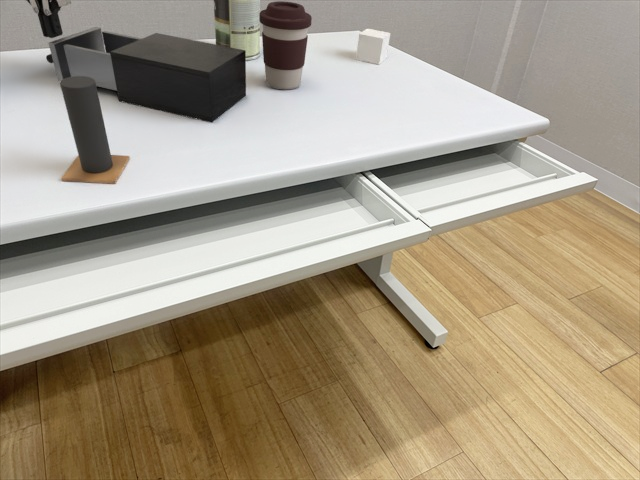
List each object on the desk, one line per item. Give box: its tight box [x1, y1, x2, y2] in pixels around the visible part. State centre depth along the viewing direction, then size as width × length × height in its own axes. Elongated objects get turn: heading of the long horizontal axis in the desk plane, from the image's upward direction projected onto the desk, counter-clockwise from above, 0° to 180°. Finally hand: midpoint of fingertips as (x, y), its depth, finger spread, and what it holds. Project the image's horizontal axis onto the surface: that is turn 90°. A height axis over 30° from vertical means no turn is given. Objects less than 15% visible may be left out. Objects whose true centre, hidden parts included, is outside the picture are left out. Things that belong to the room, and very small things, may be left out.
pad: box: [60, 154, 131, 185], centre depth 66 cm, size 7×7×1 cm
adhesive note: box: [355, 27, 391, 66], centre depth 114 cm, size 6×6×6 cm
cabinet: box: [110, 32, 247, 123], centre depth 85 cm, size 19×14×9 cm
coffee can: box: [213, 0, 261, 62], centre depth 106 cm, size 10×10×14 cm
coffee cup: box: [259, 0, 313, 90], centre depth 93 cm, size 10×10×15 cm
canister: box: [59, 76, 113, 173], centre depth 62 cm, size 4×4×12 cm
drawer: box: [45, 26, 143, 92], centre depth 89 cm, size 22×12×7 cm, turn 72°
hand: (53, 35), depth 89 cm, fingers closed
